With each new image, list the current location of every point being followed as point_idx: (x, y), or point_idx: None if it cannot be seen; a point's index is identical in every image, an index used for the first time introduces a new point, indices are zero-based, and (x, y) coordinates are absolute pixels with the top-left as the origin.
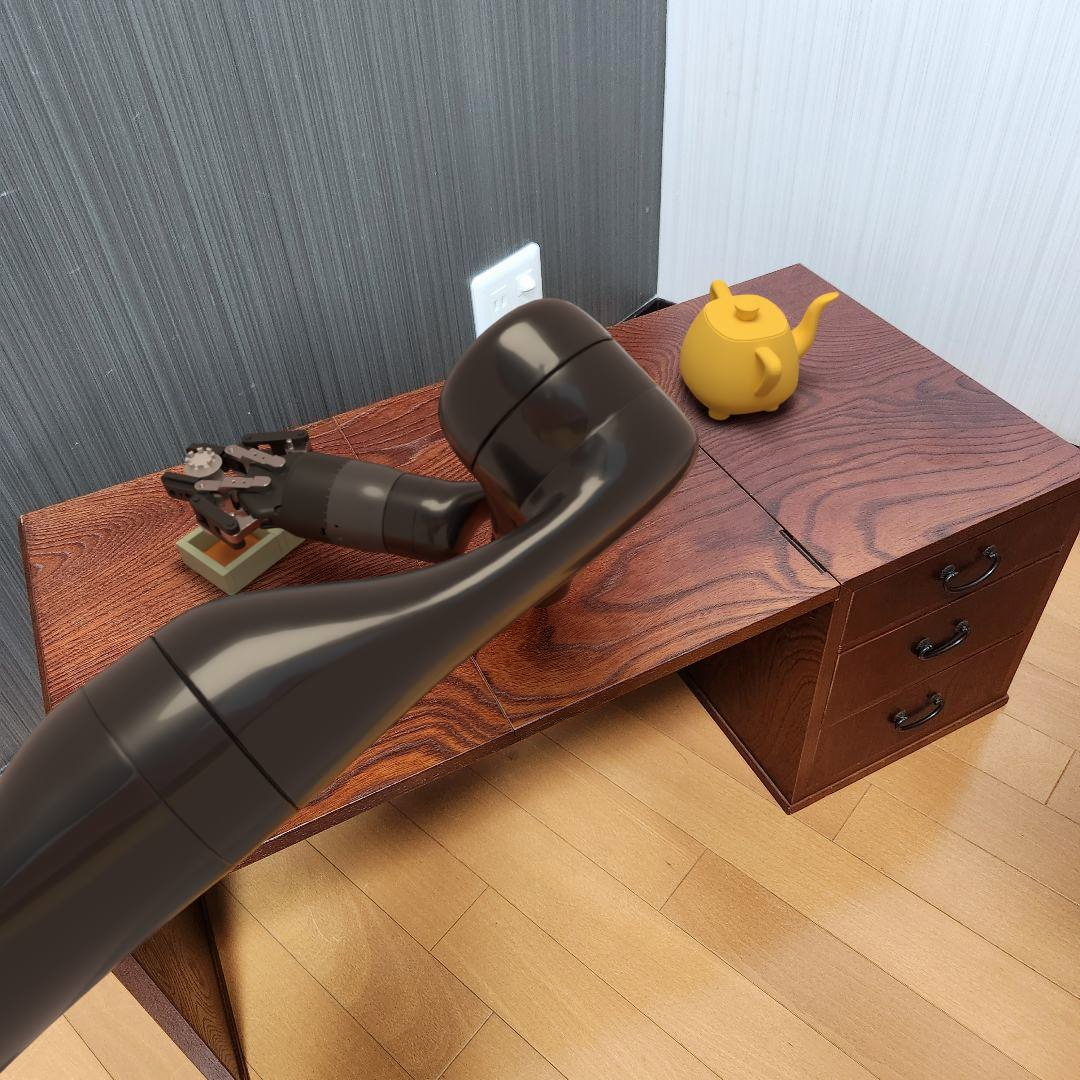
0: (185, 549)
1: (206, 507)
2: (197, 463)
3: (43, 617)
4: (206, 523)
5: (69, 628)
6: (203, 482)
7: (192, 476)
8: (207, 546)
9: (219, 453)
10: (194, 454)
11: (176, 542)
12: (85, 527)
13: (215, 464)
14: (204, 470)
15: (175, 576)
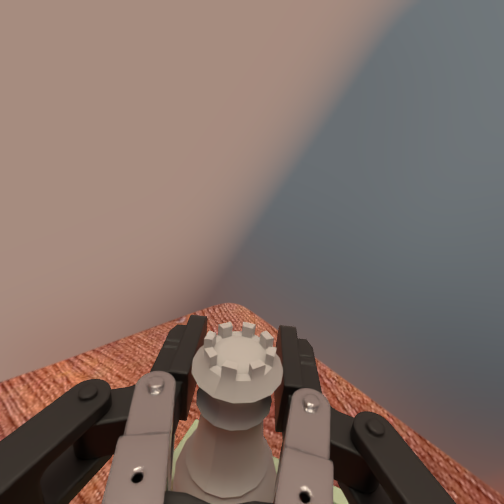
0: (181, 440)
1: (37, 435)
2: (222, 348)
3: (112, 343)
4: (56, 461)
5: (89, 368)
6: (158, 385)
7: (191, 358)
8: None
9: (286, 383)
10: (255, 336)
11: (196, 420)
12: (236, 331)
13: (235, 387)
14: (206, 371)
15: None
